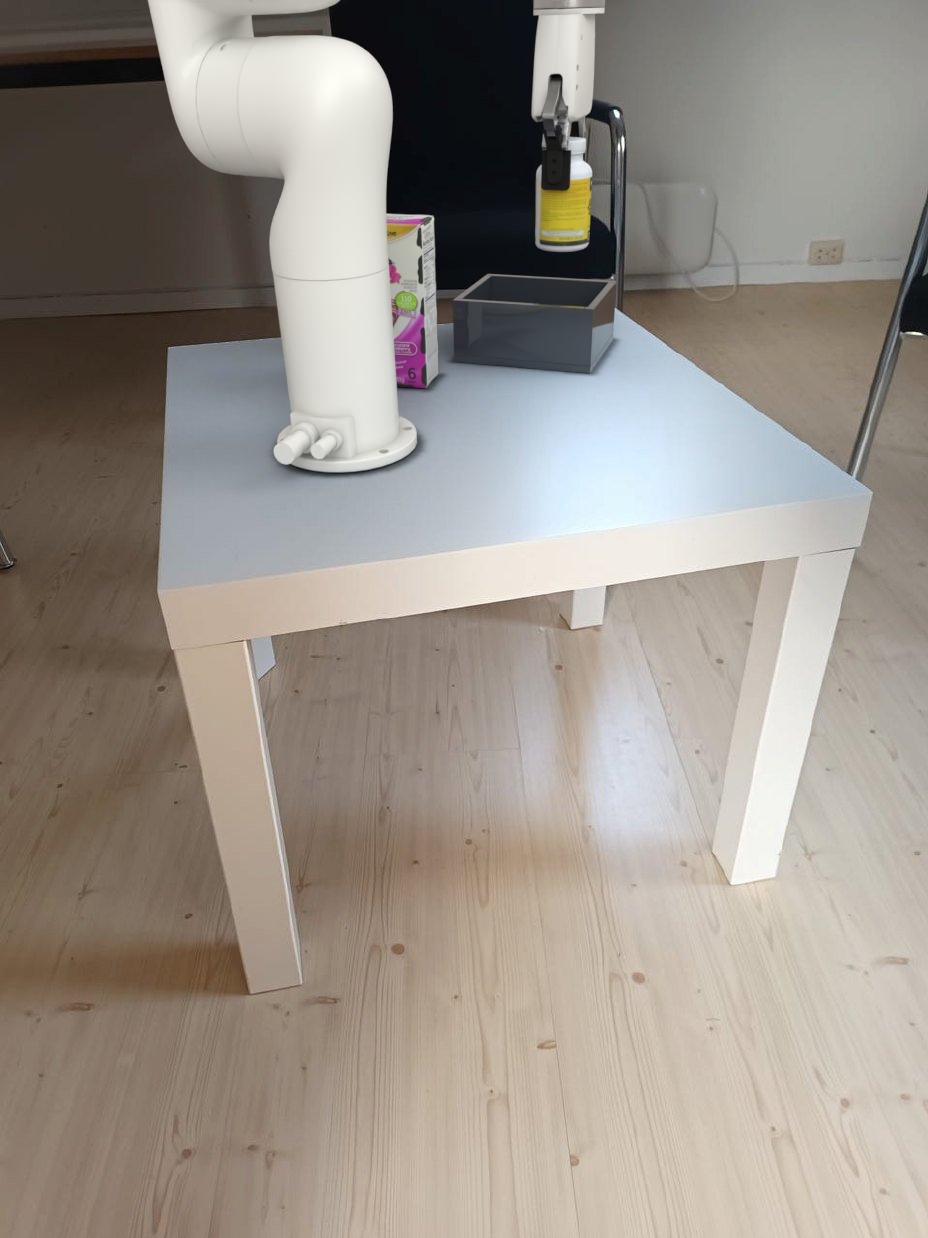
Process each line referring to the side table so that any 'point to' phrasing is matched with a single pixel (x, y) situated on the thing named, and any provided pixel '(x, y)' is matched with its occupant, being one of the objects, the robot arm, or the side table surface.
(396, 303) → the candy bar box
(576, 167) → the pill bottle
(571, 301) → the open box
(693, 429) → the side table surface
